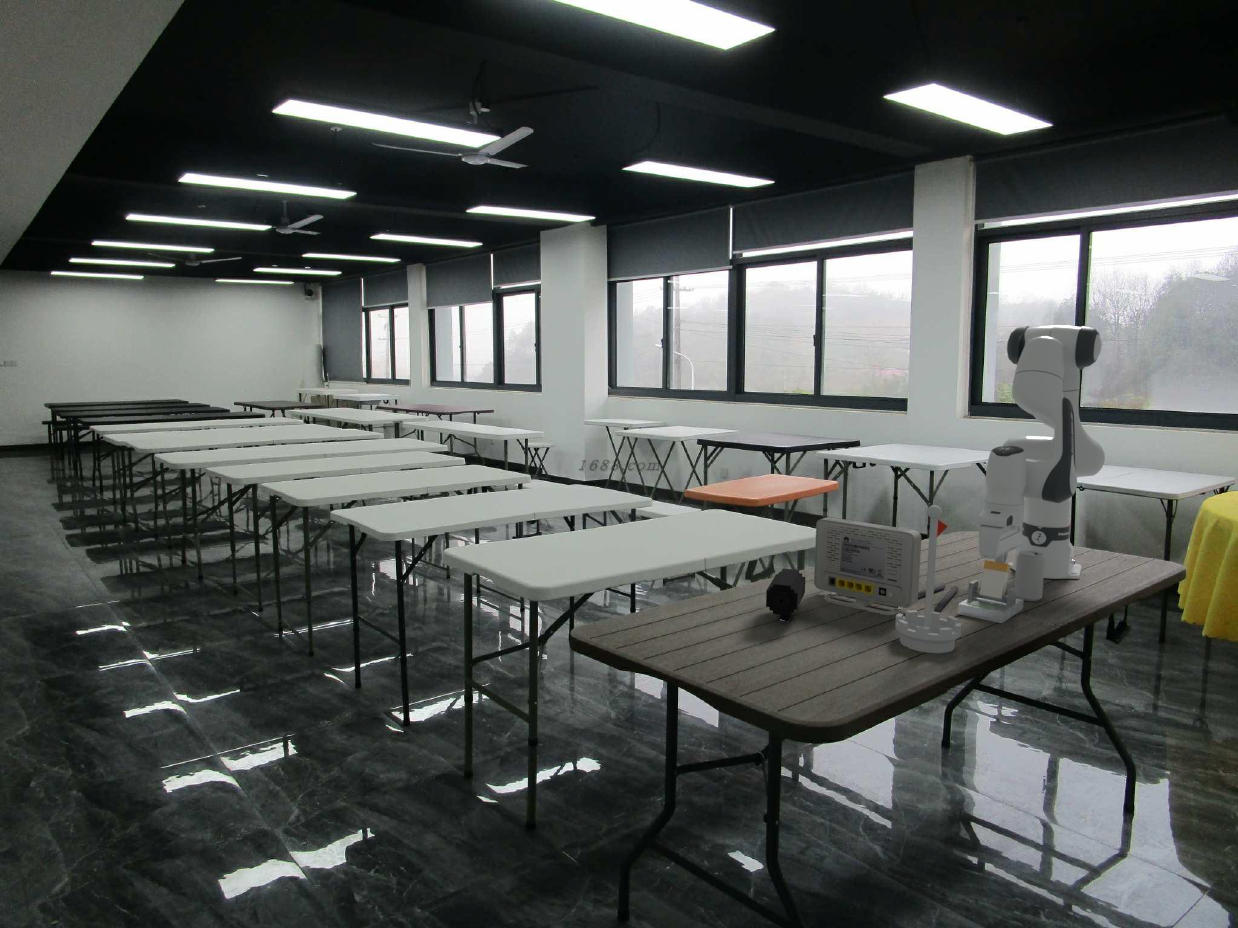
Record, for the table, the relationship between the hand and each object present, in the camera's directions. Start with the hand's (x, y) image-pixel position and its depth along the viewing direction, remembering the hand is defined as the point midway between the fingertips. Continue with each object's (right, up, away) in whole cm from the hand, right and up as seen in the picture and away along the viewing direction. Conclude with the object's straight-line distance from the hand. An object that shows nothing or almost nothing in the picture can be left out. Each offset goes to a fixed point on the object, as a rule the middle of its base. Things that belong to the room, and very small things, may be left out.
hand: (999, 569), depth 198 cm
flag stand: (-27, -13, -25) cm, 39 cm away
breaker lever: (-3, -6, -2) cm, 7 cm away
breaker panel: (-3, -10, -2) cm, 10 cm away
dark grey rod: (-10, -9, +6) cm, 15 cm away
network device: (-32, -9, +3) cm, 34 cm away
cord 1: (-13, -8, +12) cm, 20 cm away
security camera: (-53, -10, -7) cm, 55 cm away
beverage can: (+11, -9, +9) cm, 17 cm away
